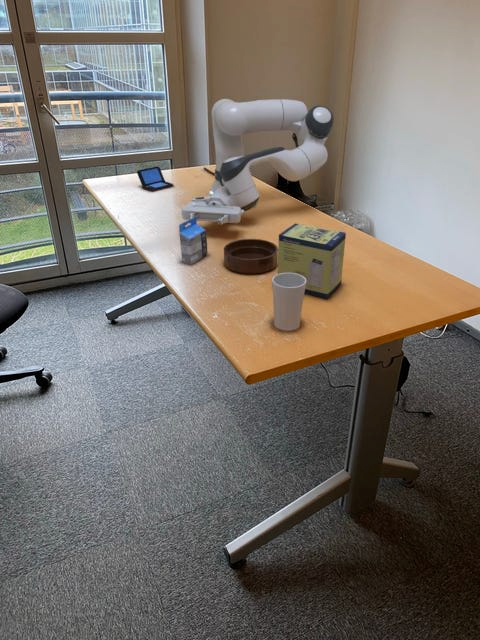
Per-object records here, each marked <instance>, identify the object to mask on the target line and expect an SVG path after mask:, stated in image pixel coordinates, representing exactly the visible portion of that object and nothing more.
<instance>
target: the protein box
mask: <svg viewBox="0 0 480 640" xmlns="http://www.w3.org/2000/svg"><path fill="white" fill-rule="evenodd" d="M346 238H347V232H344V231H339V230H333V229H328V228H322V227H317V226H312V225H306V224H300V223H296V222H295V223H293V224H292V225H291V226H290V227H288V228H287V229H285V230H283V231H282V232H280V233H279V234H278V246H277V247H278V263H277V274H281V273H296V274H299V275H302V276H303V277H305V279H306V286H305V292H304V295H310V296H312V297H313V296H314V297H317V298H321V299H325V300H327V299H329V298H330V297H331V296H332V294H334V292H335V291H336V290H337V289H338V288H339V287H340V286H341V284H342V279H343V278H342V277H343V267H344V257H345V248H346V247H345V246H346Z"/></svg>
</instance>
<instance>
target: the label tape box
mask: <svg viewBox="0 0 480 640" xmlns="http://www.w3.org/2000/svg"><path fill="white" fill-rule="evenodd" d="M188 224H189V225H188ZM178 228H179V229H178V230H179V232H178V234H179V243H180V253H181V254H180V255H181V262H182V263H184V264H186V265H187V264H188V265H193V264H195V263H196V262H198V261H200V260H202V259H203V258H205V257H206V256H208V255H209V254H208V252H209V251H208V239H207V237H208V236H207V230H206V229H205V228H204V227H202V226H201V225H199V224H198V221H197V216H196V217H194V218H192V219H190V220H185V221H184V222H181V223H179V225H178Z"/></svg>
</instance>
